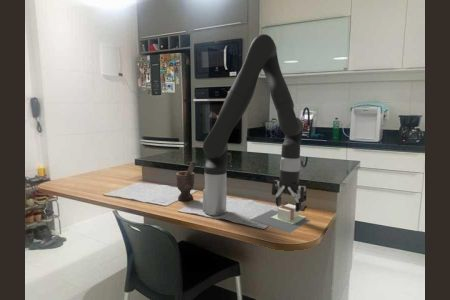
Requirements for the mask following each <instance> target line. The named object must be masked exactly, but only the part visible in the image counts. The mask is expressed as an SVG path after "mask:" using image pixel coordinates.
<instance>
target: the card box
mask: <svg viewBox="0 0 450 300" xmlns="http://www.w3.org/2000/svg"><path fill="white" fill-rule="evenodd" d="M283 205H284V204H283ZM283 205H281V206H279V207H278V208H277V211H278V219H282V220H285V221H291V220H293V219H294V218H296V217H298V216H299V215H300V211H298V212H296V211H295V208H296V205H292V204H287V205H284V206H283Z"/></svg>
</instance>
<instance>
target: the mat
mask: <svg viewBox="0 0 450 300" xmlns="http://www.w3.org/2000/svg"><path fill="white" fill-rule="evenodd" d="M249 221H251V222H254V223H256V224H257V223H258V224H260V225H263V226H266V227H269V228H273V229H276V230H279V231H282V232H284V233H288V234H291V233H293V232H294V231H296V230H297V229H300V228H301V227H302V226H304V225H306V224H307V223H309V222H311V220H310V219H306V216H304V215H300V214H299V216H298V217H296V218H294V219H293V220H291V221H285V220H282V219H278V210H275V209H270V210H268V211H266V212H264V213H262V214H259V215H257V216H255V217H252V218H251V219H249Z"/></svg>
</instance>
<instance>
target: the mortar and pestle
mask: <svg viewBox="0 0 450 300" xmlns="http://www.w3.org/2000/svg"><path fill="white" fill-rule="evenodd" d="M196 166H197V160H192V161H190V164H189V165H188V169H187V170H181V171H177V172H176V173H175V178H176V187H177V189H178V191H180V194H178V197H177V200H178V201H181V202H191V201H193V200H194V195H193V194H192V193H191V191H192V190H193V189H194V186H195V171H194V169H195V168H196Z"/></svg>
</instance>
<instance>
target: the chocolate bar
mask: <svg viewBox="0 0 450 300" xmlns="http://www.w3.org/2000/svg"><path fill="white" fill-rule="evenodd" d="M294 203H295V202H289V203H288V202H287V201H285V203H284V204H283V205H282V206H284V205H287V204H292V205H296V204H294ZM304 205H305V204H303V205H301V210H300V211H299V212H304V210H305V209H306V206H304Z"/></svg>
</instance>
